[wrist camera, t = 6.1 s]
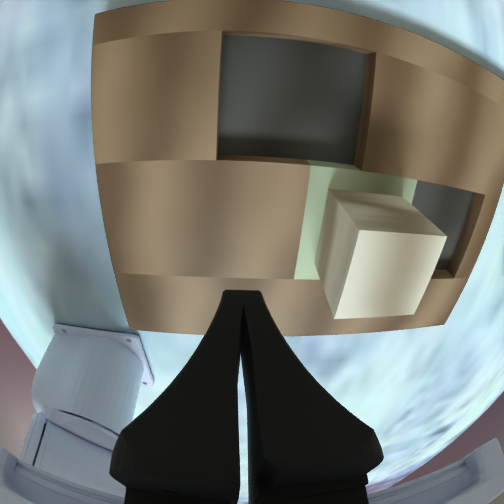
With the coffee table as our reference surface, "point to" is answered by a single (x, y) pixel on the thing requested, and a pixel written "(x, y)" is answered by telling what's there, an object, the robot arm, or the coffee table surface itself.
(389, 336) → the coffee table surface
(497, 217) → the coffee table surface
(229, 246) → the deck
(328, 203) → the block
